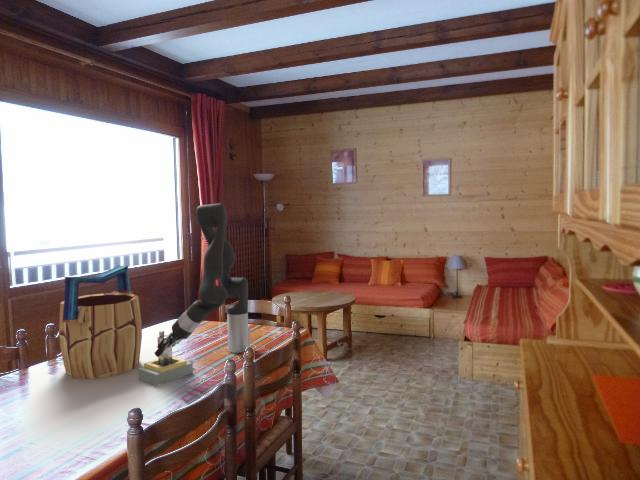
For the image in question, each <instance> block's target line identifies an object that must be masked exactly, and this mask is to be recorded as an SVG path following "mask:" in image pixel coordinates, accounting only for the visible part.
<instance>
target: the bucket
mask: <svg viewBox="0 0 640 480" xmlns="http://www.w3.org/2000/svg"><path fill="white" fill-rule="evenodd" d="M115 278H116V283H117V290H118V291H112V292H108V293H107V292H105V293H94V294H85V295H81V296H79V290H80V289H79V287H80V284H83V283H84V284H91V283H92V284H105V283H106V282H109V281H110V280H112V279H115ZM64 283H65V286H64V298H63V301H61V302H60V303H59V315H58V316H59V320H58V340H59V348H60V354H61V358H62V362H63V366H64V367H63V368H64V371H65V374H67V375H68V376H69V375H70V378H72V379H79V378H81V379H82V380H96V379H102V378H110V377H115V376H119V375H122V374H124V373H127V372H129V371H132V370H134V369H135V368H136V367H138V366H137V365H138V364H139V363H140V358H141V357H140V356H141V347H142V338H143V335H142V334H143V329H142V328H143V322H142V321H143V320H142V315H141V314H142V313H141V307H140V306H141V305H140V299H139V295H136V294H133V291H131V286H130V277H129V266H128V265H118V266H117V265H116V266H115V267H113V268H110V269H108V270H106V271H103V272H101V273H98V274H96V275H94V276H91V277H89V276H88V277H87V276H64ZM81 379H80V380H81Z"/></svg>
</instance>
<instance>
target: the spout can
mask: <svg viewBox="0 0 640 480" xmlns="http://www.w3.org/2000/svg"><path fill="white" fill-rule="evenodd" d="M158 333H159V334H158V335H159V336H157V346H158V345H159V344H160V342H161V341H162V340H163V338H167V337H168V335H169V334H167V335H165V331H164V330H160V331H158ZM169 345H170V343H169ZM172 357H173V348H172V346H171V347H169V348H167V349H166V350H165V351H164V352H163V353H162V354H161V355H160V356H159V357H157V359H158V363H159V366H162V367H164V366H167V365H170V364H173V358H172Z"/></svg>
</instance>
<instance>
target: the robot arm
mask: <svg viewBox="0 0 640 480" xmlns="http://www.w3.org/2000/svg"><path fill="white" fill-rule="evenodd" d="M195 215H196V220H197V223H198V226H199V228H200V230H201V232H202V233H203V236H204V239H205V240H206V243H207V245H208V248H207V249H206V251H205V253H204V256H203V275H202V277H201V282H200V285H199V290H198V296H199V300H195V301H194V302H193V303H192V304H191V305H190V306H189V307H188V308H187V309H186V310H185V311H184V312H183V313H182V314H181V315H180V316H179V318H177V319H176V321H175V322H174V323H173V324H172V325H171V331H172V332H170V333H169V334H167V335H168V337H167V338H163V340H162V341H161V342H160V344H159V345H158V344H157V346H156V348H157V349H156V350H155V352H154V355H155V356H156V357H157V358H158V357H159V356H160V355H161V354H162V353H163V352H164V351H165V350H166V349H167V348H169V347H171V346H172V349H173V348H174V347H176V345H178V344H180V343H181V342H182V341H183V340H187V339H188V338H190V336H191V335H192V334H193V333H194V332H195V331H196V330H197V328H198V327H199V326H200V325H201V324H202V323H203V321H204V320H205V318H206V317H208V315H210V314H211V313H213V312H215V311H216V310H218V309H220V307H221V306H222V305H224V304H225V302H226V300H227V298H229V299H238V302H236V303H234V304H231V305H229V306H227V308H226V317H227V318H226V319H227V324H226V325H227V350H228V352H229V353H234V354H236V353H237V354H238V353H239V354H240V353H245V352H246V351H245V349H246V347H248V346H250V347H251V329H250V327H249V313H248V311H249V309H248V308H249V282H248V281H249V280H248V279H247V278H246V277H231V276H230V272H231V270H232V268H233V267H234V265H235V263H236V254H235V252H234V248H233V245H232V244H231V242H230V241H229V240H227V239H226V233H227V224H228V212H227V209H226V207H225V204H223V203H221V202H220V203H217V202H216V203H209V204H202V205H198V206H197V207H196V211H195ZM215 228H216V230H215ZM218 280H219V281H220V285H216V284H215V282H216V281H218ZM169 343H170V345H169ZM244 351H245V352H244Z"/></svg>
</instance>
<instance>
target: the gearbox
mask: <svg viewBox="0 0 640 480" xmlns="http://www.w3.org/2000/svg"><path fill="white" fill-rule="evenodd" d="M172 358H173V364H170V365H167V366H164V367H162V366H159V363H158V358H156V359H154V360H150V361H147V362H144V363H143V366H141V367H139V368H137V375H138V376H137V377H138V380H140V381H143V382H146V383H149V384H152V385H153V386H160V385H163V384H165V383H167V382H171V381H174V380H177V379H179V378H182V377H184V376H188V375H191V374H193V373H194V372H193V366H194V361H193V359H188V360H186V359H182V358H178V357H175V356H172Z"/></svg>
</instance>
